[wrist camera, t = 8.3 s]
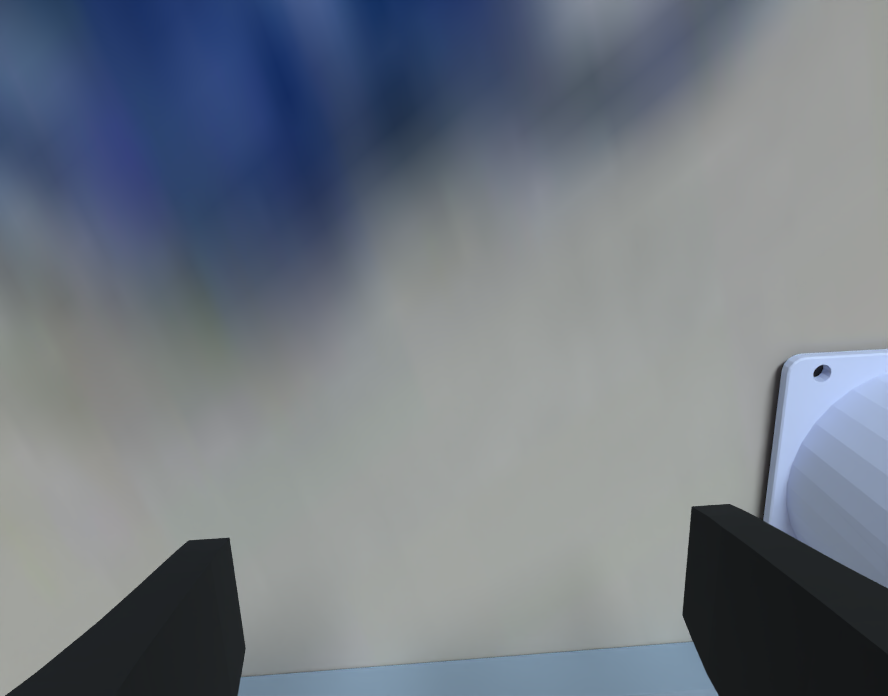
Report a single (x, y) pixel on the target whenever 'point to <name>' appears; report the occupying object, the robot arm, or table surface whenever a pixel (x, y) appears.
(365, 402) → the table surface
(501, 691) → the control panel
